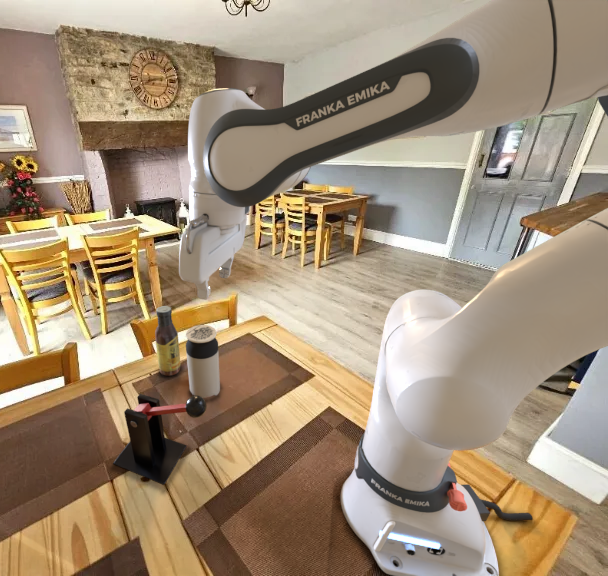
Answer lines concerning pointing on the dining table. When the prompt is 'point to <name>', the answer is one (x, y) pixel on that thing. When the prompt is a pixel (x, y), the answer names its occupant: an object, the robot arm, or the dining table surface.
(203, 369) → the travel mug
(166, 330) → the sauce bottle
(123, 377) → the dining table surface
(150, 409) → the lever
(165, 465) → the bracket
